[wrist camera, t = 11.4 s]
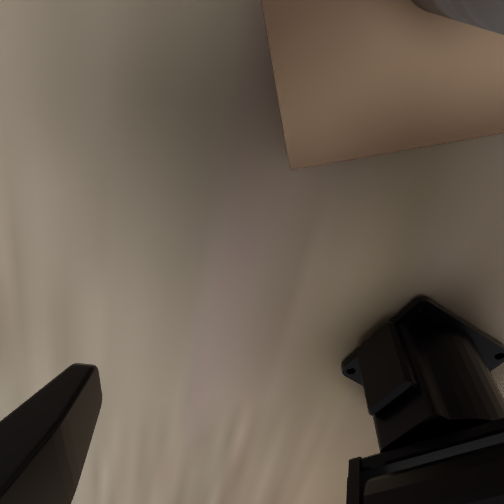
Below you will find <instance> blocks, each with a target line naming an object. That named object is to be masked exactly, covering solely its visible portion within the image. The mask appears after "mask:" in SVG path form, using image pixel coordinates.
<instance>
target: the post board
mask: <svg viewBox="0 0 504 504" xmlns="http://www.w3.org/2000/svg"><path fill="white" fill-rule="evenodd" d="M261 2H262V8H263V13H264V19H265V25H266V31H267V37H268V43H269V49H270V54H271V60H272V66H273V72H274V78H275V84H276V89H277V95H278V101H279V107H280V113H281V119H282V125H283V130H284V136H285V142H286V148H287V154H288V160H289V165H290V170H293V169H299V168H305V167H310V166H316V165H322V164H328V163H334V162H339V161H345V160H351V159H357V158H363V157H368V156H374V155H380V154H386V153H392V152H397V151H403V150H409V149H415V148H421V147H426V146H432V145H438V144H444V143H449V142H455V141H461V140H467V139H473V138H478V137H484V136H490V135H496V134H502V133H504V0H261Z"/></svg>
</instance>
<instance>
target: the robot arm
mask: <svg viewBox="0 0 504 504" xmlns="http://www.w3.org/2000/svg"><path fill="white" fill-rule="evenodd" d="M423 305H425V307H423V308H419V307H420V306H423ZM503 362H504V345H503V344H501V343H499V342H498V341H496V340H495V339H493V338H491V337H490V336H488V335H487V334H485V333H483V332H482V331H480V330H479V329H477V328H475V327H474V326H472V325H471V324H469V323H467V322H466V321H464V320H463V319H461V318H459V317H458V316H456V315H455V314H453V313H452V312H450V311H448V310H447V309H445V308H444V307H442V306H440V305H439V304H437V303H436V302H434V301H432V300H431V299H429V298H427V297H418V298H416V299H414V300H413V301H412V302H411V303H409V304H408V305H407V306H406V307H405V308H404V309H403V310H402V311H400V312H399V313H398V314H397V315H396V316H395V317H394V318H393V319H391V320H390V321H389V322H388V323H387V324H385V325H384V326H383V327H382V328H381V329H380V330H379V331H377V332H376V333H375V334H374V335H373V336H372V337H371V338H370V339H368V340H367V341H366V342H365V343H364V344H363V345H362V346H361V347H359V348H358V349H357V350H356V351H355V352H354V353H353V354H352V355H351V356H350V357H348V358H347V359H346V360H345V361H344V362H343V363H342V365H341V368H342V373H343V375H344V376H346V377H348V378H350V379H352V380H353V381H355V382H357V383H359V384H361V385H363V387H364V392H365V398H366V403H367V408H368V412H369V414H370V415H371V416H373V419H374V424H375V429H376V434H377V438H378V443H379V448H380V453H378V454H375V455H371V456H368V457H364V458H361V457H357V458H353V459H350V460H349V472H348V478H347V500H346V504H504V398H503V396H502V394H501V392H500V390H499V389H498V387H497V385H496V383H495V381H494V379H493V377H492V375H491V373H490V371H491V370H493V369H494V368H496V367H497V366H498V365H500V364H501V363H503ZM349 368H352V369H349ZM101 404H102V391H101V384H100V377H99V371H98V368H97V367H96V366H95V365H91V364H81V363H75V364H72V365H71V366H69V367H68V368H67V369H65V370H64V371H63V372H62V373H60V374H59V375H58V376H57V377H55V378H54V379H53V380H52V381H50V382H49V383H48V384H47V385H45V386H44V387H43V388H42V389H40V390H39V391H38V392H37V393H35V394H34V395H33V396H32V397H30V398H29V399H28V400H27V401H25V402H24V403H23V404H22V405H20V406H19V407H18V408H17V409H15V410H14V411H13V412H12V413H10V414H9V415H8V416H7V417H5V418H4V419H3V420H2V421H0V504H71V502H72V499H73V497H74V494H75V491H76V488H77V485H78V482H79V479H80V476H81V472H82V469H83V466H84V462H85V459H86V456H87V452H88V449H89V446H90V442H91V439H92V435H93V432H94V429H95V425H96V422H97V419H98V415H99V412H100V408H101Z"/></svg>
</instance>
